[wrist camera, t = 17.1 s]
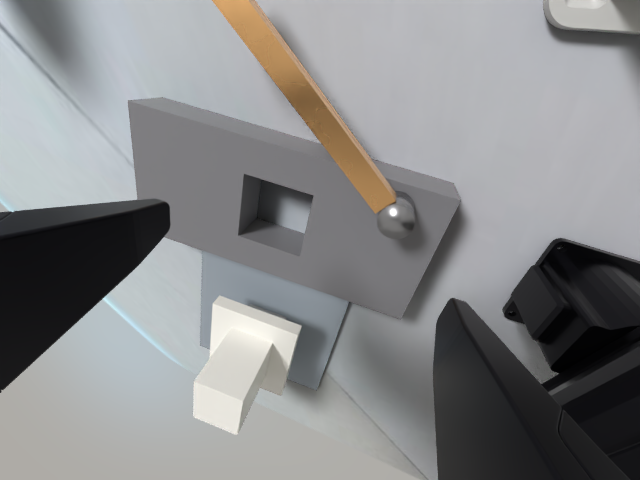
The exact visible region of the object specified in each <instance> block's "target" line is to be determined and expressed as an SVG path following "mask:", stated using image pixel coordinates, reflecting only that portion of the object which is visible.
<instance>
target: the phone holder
mask: <svg viewBox="0 0 640 480" xmlns="http://www.w3.org/2000/svg"><path fill="white" fill-rule="evenodd" d="M543 10H544V14H545V16H546V18H547V20H548V21H549V22H550V24H552V25H553V26H555V27H557V28H559V29H565V30H579V31H594V32H609V33H624V34H639V35H640V0H543Z"/></svg>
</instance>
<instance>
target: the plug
mask: <svg viewBox="0 0 640 480" xmlns="http://www.w3.org/2000/svg"><path fill="white" fill-rule="evenodd" d="M301 327H302V326H301V325H298V324H296V323H293V322H290V321H288V320H286V317H284V316H281V315H279V314H276V313H273V312H271V311H268V310H265V309H262V308H260V307H257V306H254V305H251V304H250V305H249V306H247V305H244V304H241V303H239V302H236V301H233V300H231V299H228V298H225V297H222V296H220V295H219V297H218V298H217V299H216V300H215V301H214V302H213V306H212V323H211V340H210V358H209V360H208V362H207V363H206V365H205V366H204V368H203V369H202V370H201V372H200V373H199V375H198V376H197V378H196V379H195V381H194V404H193V406H194V408H193V417H194V418H197V419H199V420H202V421H204V422H206V423H209V424H211V425H214V426H216V427H218V428H221V429H223V430H226V431H228V432H230V433H233V434H235V435H238V433H239V431H240V429H241V427H242V425H243V422H244V420H245V418H246V416H247V414H248V412H249V410H250V407H251V406H252V403H253V401H254V399H255V397H256V395H257V393H258V391H259V389H260V388H262V389H265V390H267V391H270V392H272V393H275V394H277V395H280V396H281V395H282V392H283V390H284V387H285V384H286V380H287V377H288V373H289V370H290V366H291V363H292V359H293V356H294V352H295V348H296V345H297V341H298V338H299V334H300V331H301Z"/></svg>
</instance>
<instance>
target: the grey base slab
mask: <svg viewBox="0 0 640 480" xmlns="http://www.w3.org/2000/svg"><path fill="white" fill-rule="evenodd" d="M128 108H129V118H130V128H131V138H132V148H133V158H134V168H135V178H136V188H137V198H138V200H142V199H153V198H155V199H159V200H162V201H165V202H167V203H168V204H169V206H170V224H171V225H170V229H169V231H168V233H167V234H166V235H165V236H164V237H165V238H168V239H171V240H174V241H177V242H180V243H183V244H185V245H188V246H191V247H194V248H197V249H200V250H203V251H205V252H208V253H211V254H214V255H217V256H220V257H223V258H226V259H228V260H231V261H234V262H237V263H240V264H243V265H246V266H249V267H251V268H254V269H257V270H260V271H263V272H266V273H269V274H272V275H274V276H277V277H280V278H283V279H286V280H289V281H292V282H294V283H297V284H300V285H303V286H306V287H309V288H312V289H315V290H317V291H320V292H323V293H326V294H329V295H332V296H335V297H338V298H340V299H343V300H346V301H349V302H352V303H355V304H358V305H360V306H363V307H366V308H369V309H372V310H375V311H378V312H381V313H383V314H386V315H389V316H392V317H395V318H398V319H401V318H402V316H403V314H404V312H405V310H406V308H407V306H408V304H409V302H410V300H411V298H412V296H413V294H414V292H415V290H416V288H417V286H418V284H419V282H420V280H421V278H422V276H423V274H424V273H425V271H426V269H427V267H428V265H429V263H430V261H431V259H432V257H433V255H434V253H435V251H436V249H437V247H438V245H439V243H440V241H441V239H442V237H443V235H444V233H445V231H446V229H447V227H448V225H449V223H450V221H451V219H452V217H453V215H454V213H455V211H456V209H457V207H458V205H459V203H460V201H461V199H460V197H459V195H458V192H457V190H456V188H455V185H454V183H451V182H448V181H444V180H441V179H438V178H434V177H431V176H427V175H424V174H421V173H417V172H414V171H410V170H407V169H404V168H400V167H397V166H393V165H390V164H387V163H383V162H380V161H376V160H373V159H371V160H372V161H373V163H374V164H375V165H376V167H377V168H378V169H379V171H380V172H381V173H382V175H383V176H384V178H385V179H386V180H387V182H388V183H389V184H390V186H391V187H392V189H393V190H394V191H402V192H405V193H407V194H408V195H409V196H410V197H411V198H412V200H413V202H414V216H415V225H414V229H413V231H412V232H411V233H410V234H409V235H408V236H406V237H404V238H402V239H390V238H388V237H386V236H384V235H383V234H382V233H381V232H380V231H379V229H378V226H377V219H378V214H379V212H377V213H376V214H375V213H374V211H373V210H372V209H371V208H370V206H369V205H368V204H367V202H366V201H365V200H364V198H363V197H362V196H361V194H360V193H359V192H358V191H357V189H356V188H355V187H354V185H353V184H352V183H351V181H350V180H349V179H348V177H347V176H346V175H345V174H344V172H343V171H342V170H341V168H340V167H339V166H338V164H337V163H336V162H335V160H334V159H333V158H332V157H331V155H330V154H329V153H328V151H327V150H326V149H325V147H324V146H323V145H322V144H319V143H315V142H312V141H309V140H305V139H302V138H298V137H295V136H292V135H288V134H285V133H281V132H278V131H275V130H271V129H268V128H264V127H261V126H258V125H254V124H251V123H247V122H244V121H241V120H237V119H234V118H230V117H227V116H224V115H220V114H217V113H213V112H210V111H207V110H203V109H200V108H197V107H193V106H190V105H186V104H183V103H180V102H176V101H173V100H169V99H166V98H163V97H162V98H151V99H139V100H128ZM261 179H262V180H266V181H269V182H272V183H275V184H278V185H282V186H285V187H288V188H291V189H294V190H298V191H301V192H304V193H307V194H310V195H313V200H312V205H311V209H310V214H309V218H308V222H307V227H306V231H305V234H303V233H300V232H297V231H294V230H291V229H288V228H285V227H282V226H279V225H276V224H273V223H270V222H267V221H264V220H260V219H257V211H258V203H259V195H260V187H261Z"/></svg>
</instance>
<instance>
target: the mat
mask: <svg viewBox="0 0 640 480" xmlns="http://www.w3.org/2000/svg"><path fill="white" fill-rule="evenodd" d="M219 295H220V296H222V297H225V298H228V299H231V300H233V301H236V302H239V303H241V304H244V305H247V306H249V305H250V304H251V305H254V306H257V307H260V308H262V309H265V310H268V311H271V312H273V313H276V314H279V315H281V316H284V317H286V320H288V321H290V322H293V323H296V324H298V325H301V326H302V327H301V331H300V334H299V338H298V341H297V345H296V348H295V352H294V356H293V359H292V363H291V366H290V370H289V373H288V377H287V379H288V380H290V381H293V382H296V383H298V384H301V385H303V386H306V387H309V388H311V389H314V390H316V391H317V388H318V386H319V383H320V380H321V377H322V375H323V372H324V369H325V366H326V364H327V361H328V358H329V356H330V353H331V350H332V347H333V345H334V342H335V339H336V336H337V334H338V331H339V328H340V325H341V323H342V320H343V317H344V314H345V312H346V309H347V306H348V304H349V301H346V300H343V299H340V298H338V297H335V296H332V295H329V294H326V293H323V292H320V291H317V290H315V289H312V288H309V287H306V286H303V285H300V284H297V283H294V282H292V281H289V280H286V279H283V278H280V277H277V276H274V275H272V274H269V273H266V272H263V271H260V270H257V269H254V268H251V267H249V266H246V265H243V264H240V263H237V262H234V261H231V260H228V259H226V258H223V257H220V256H217V255H214V254H211V253H208V252H205V251H203V250H202V285H201V327H200V346H202V347H205V348H207V349H210V340H211V323H212V306H213V302H214V301H215V300H216V299H217V298H218V297H219Z"/></svg>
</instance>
